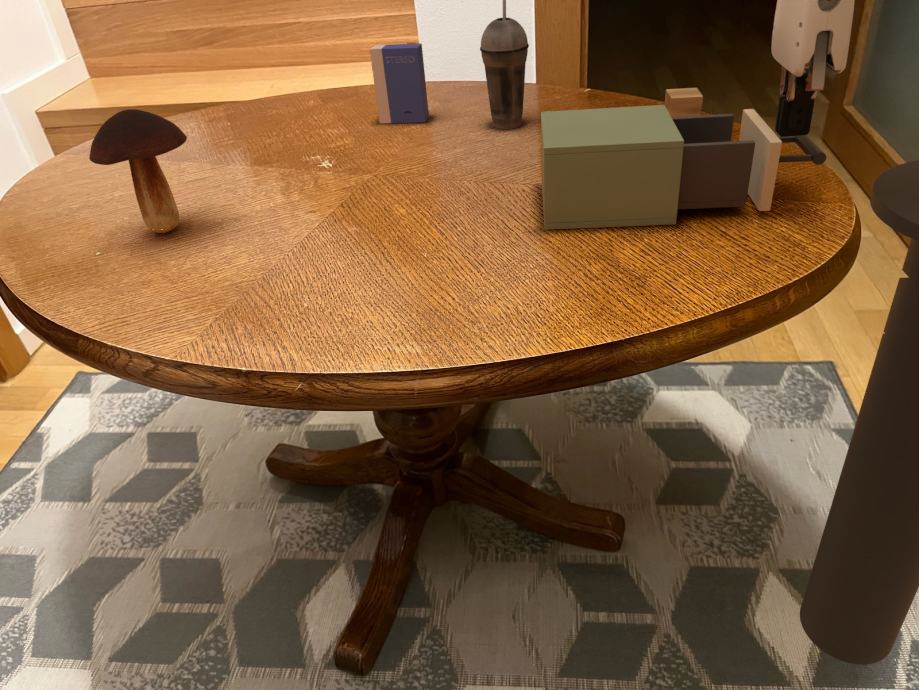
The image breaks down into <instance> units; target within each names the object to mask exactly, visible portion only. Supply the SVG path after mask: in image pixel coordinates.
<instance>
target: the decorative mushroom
mask: <svg viewBox="0 0 919 690" xmlns="http://www.w3.org/2000/svg"><path fill="white" fill-rule="evenodd" d="M187 139H188V137H187V135H186V133H184V131H182V129H181V128H179V126H178V125H176V124H175V123H174V122H172V121H171V120H168V119H167V118H164V117H162V116H161V115H158V114H156V113H153V112H150V111H145V110H142V109H134V108H132V109H129V108H128V109H127V108H126V109H122V110H120V111H118V112H116V113H115V114H113V115H112V116H111V117H109V118H108V119H107V120H105V121H104V123H103V124H102V125H101V126H100V127H99V129H98V131H97V132H96V134H95V136H94V137H93V140H92V142H91V145H90V149H89V157H88V158H89V161H90V162H92V163H94V164H97V165H101V166H112V165H115V164H119V163H123V162H128V164H129V168H130V169H129V170H130V174H131V175H130V176H131V179H132V184H133V189H134V194H135V198H136V201H137V205H138V208H139V211H140V214H141V218H142V220H143V222H144V224H145V226H146V227H147V228H148V230H149V231H152V232H153V233H157V234H166V233H169V232H171V231H173V230H174V229H175V228H176V227H177V226H178V225H179V223H180V214H179V213H180V212H179V209H178V206H177V202H176V200H175V197H174V195H173V192H172V189H171V186H170V184H169V181H168V179H167V177H166V175H165V173H164V172H163V169H162V168H161V166H160V162H159V161H158V158H157V157H158V156H161V155H163V154H167V153H169V152H173V151H174V150H176V149H178V148H179V147H181V146H182V145H184V144H185V143H186V141H187ZM151 229H154V230H151ZM161 229H163V230H161Z"/></svg>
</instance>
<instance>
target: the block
mask: <svg viewBox="0 0 919 690" xmlns="http://www.w3.org/2000/svg"><path fill="white" fill-rule="evenodd" d="M664 98H665V99H664V105H665V107H666V109H667V111H668V112H669V114H670V116H671V117H683V116H700V115H702V109H703V103H704V102H703V101H704V96H703V94H702V93H701V91H700V90H699V88H698V87H686V88H685V87H684V88H669V89H668V88H667V89H666V88H665V95H664Z"/></svg>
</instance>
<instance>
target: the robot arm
mask: <svg viewBox="0 0 919 690" xmlns="http://www.w3.org/2000/svg"><path fill="white" fill-rule="evenodd" d="M854 11H855V0H776V6H775V12H774V19H773V26H772V32H771V33H772V35H771V50H770V51H771V55H772V57H773V59H774V60H775V61H776V62H777V63H778V64H779V66H780V68H781V73H780V85H779V94H780V96H779V98H778V105H777V113H776V119H775V125H774V127H775V128H774V131H775V132H776V133H777V135H778V137H787V136H800V135H807V136H808V135H809V134H810V131H811V124H812V120H813V113H814V106H815V101H816V99H817V96H818V93H819V92H818V91H823V90H824V89H825V77H826V69H828V70H829V71H830V72H831V73H833V74H837V75H838V74H841V73H842V72H843V71H844V70H845V69H846V67H847V62H848V56H849V50H850V49H849V48H850V42H851V34H852V27H853V21H854V20H853V18H854Z"/></svg>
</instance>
